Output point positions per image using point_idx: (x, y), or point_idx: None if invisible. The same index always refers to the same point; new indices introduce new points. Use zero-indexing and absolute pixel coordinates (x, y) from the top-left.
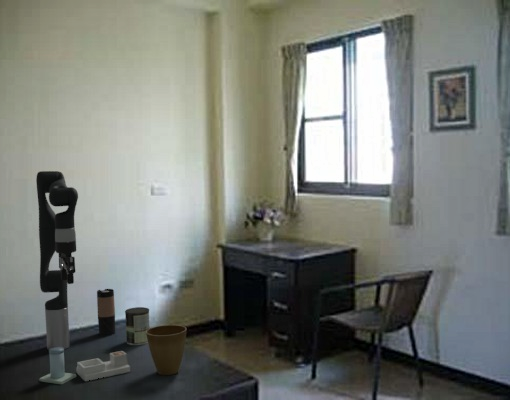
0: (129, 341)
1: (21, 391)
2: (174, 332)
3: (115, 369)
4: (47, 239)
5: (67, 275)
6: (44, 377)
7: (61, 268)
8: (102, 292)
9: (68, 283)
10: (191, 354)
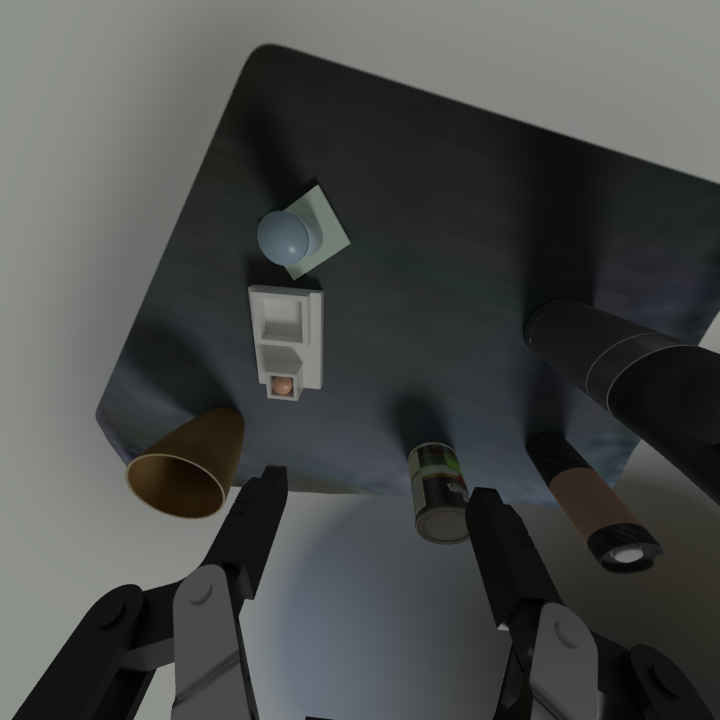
0: (429, 447)
1: (264, 105)
2: (220, 497)
3: (257, 355)
4: None
5: (232, 546)
6: (316, 200)
7: (534, 651)
8: (618, 546)
9: (267, 467)
10: (295, 480)
